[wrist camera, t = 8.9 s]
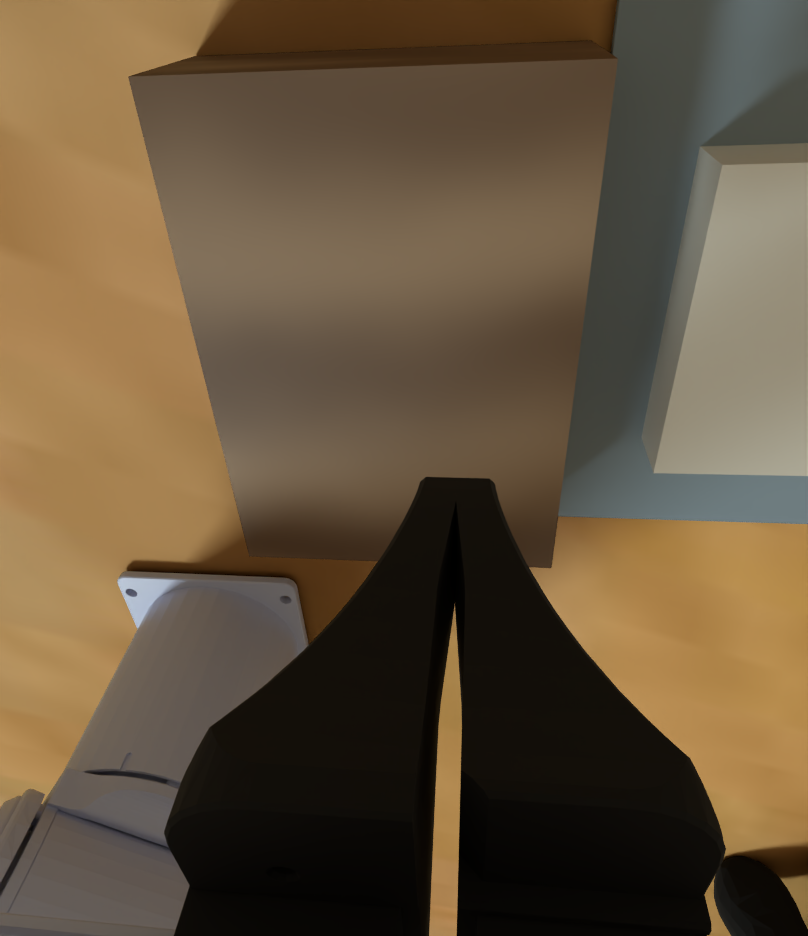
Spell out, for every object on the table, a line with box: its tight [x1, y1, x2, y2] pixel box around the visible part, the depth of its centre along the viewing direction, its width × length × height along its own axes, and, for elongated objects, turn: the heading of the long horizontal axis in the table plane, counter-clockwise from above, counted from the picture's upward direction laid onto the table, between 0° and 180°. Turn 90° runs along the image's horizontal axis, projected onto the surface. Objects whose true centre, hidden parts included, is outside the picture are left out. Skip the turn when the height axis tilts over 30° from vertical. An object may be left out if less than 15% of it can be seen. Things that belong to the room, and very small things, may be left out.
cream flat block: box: [641, 143, 808, 476], centre depth 18 cm, size 9×6×2 cm, turn 3°
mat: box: [558, 0, 808, 524], centre depth 19 cm, size 16×13×1 cm
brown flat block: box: [129, 41, 618, 568], centre depth 19 cm, size 14×10×4 cm
